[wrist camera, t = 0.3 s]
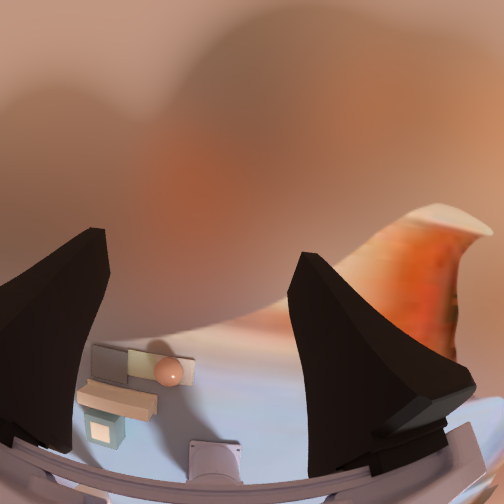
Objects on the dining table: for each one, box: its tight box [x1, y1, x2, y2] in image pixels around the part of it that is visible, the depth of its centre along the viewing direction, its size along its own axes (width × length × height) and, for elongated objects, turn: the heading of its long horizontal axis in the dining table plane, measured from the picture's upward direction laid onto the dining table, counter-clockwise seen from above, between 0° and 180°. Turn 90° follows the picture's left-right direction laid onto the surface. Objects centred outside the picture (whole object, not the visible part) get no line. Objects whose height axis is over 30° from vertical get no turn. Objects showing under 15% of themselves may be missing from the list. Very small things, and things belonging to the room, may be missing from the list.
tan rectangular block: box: [77, 379, 158, 422], centre depth 32 cm, size 3×12×5 cm, turn 84°
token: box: [154, 357, 184, 387], centre depth 35 cm, size 4×4×2 cm
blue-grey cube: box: [84, 407, 126, 450], centre depth 31 cm, size 5×5×5 cm
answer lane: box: [127, 349, 195, 386], centre depth 36 cm, size 4×10×1 cm, turn 84°
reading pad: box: [91, 344, 128, 384], centre depth 35 cm, size 5×6×1 cm
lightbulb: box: [75, 484, 111, 504], centre depth 25 cm, size 6×6×11 cm
